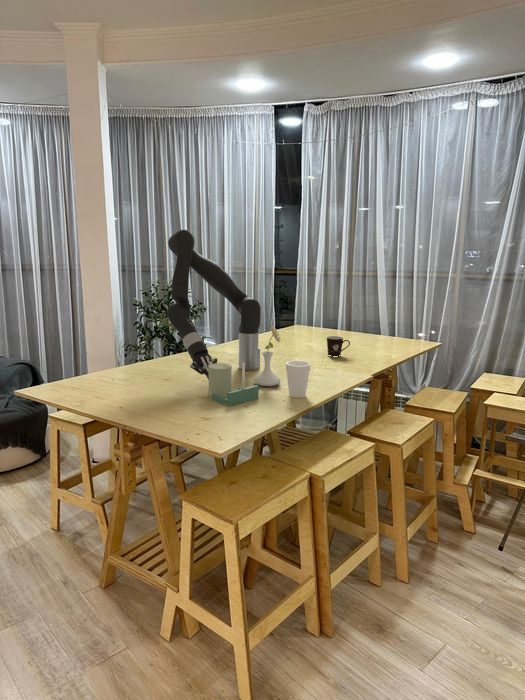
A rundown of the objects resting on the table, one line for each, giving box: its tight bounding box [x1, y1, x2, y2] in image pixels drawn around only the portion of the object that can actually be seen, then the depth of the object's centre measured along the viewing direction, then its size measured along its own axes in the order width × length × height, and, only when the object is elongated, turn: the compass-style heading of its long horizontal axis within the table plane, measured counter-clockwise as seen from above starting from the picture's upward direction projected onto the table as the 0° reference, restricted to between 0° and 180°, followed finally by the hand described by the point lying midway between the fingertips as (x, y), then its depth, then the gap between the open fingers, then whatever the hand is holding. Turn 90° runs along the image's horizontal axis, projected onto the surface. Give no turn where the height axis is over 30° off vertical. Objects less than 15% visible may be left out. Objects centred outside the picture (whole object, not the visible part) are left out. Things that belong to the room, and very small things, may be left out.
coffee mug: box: [326, 335, 351, 356], centre depth 261 cm, size 12×9×10 cm
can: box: [207, 362, 233, 398], centre depth 194 cm, size 9×9×12 cm
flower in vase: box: [253, 325, 282, 387], centre depth 207 cm, size 13×11×25 cm
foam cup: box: [285, 360, 312, 398], centre depth 193 cm, size 10×9×13 cm
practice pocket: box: [210, 363, 260, 407], centre depth 188 cm, size 11×14×15 cm
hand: (213, 381), depth 198 cm, fingers closed
